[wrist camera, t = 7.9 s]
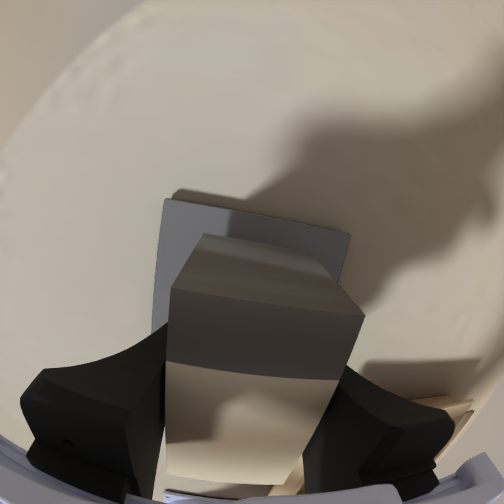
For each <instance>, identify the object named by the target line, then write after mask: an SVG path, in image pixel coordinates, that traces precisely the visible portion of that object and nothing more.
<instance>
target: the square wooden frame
mask: <svg viewBox="0 0 504 504" xmlns="http://www.w3.org/2000/svg"><path fill="white" fill-rule="evenodd" d="M410 401H413V402H416V403H419V404H422V405H426V406H430V407H434V408H439V409H443V410H446V412H447V413H448V414H449V416H450V417H451V418H452V419H453V421H454V423H455V431H454V433H453V435H452V437H451V439H450V440H449V441H448V443H447V444H446V445H445V446H444V448H443V449H442V450H441V451H440V452H439V453H438V454H437V456H436V457H435V458H434V459H433V460H434V461H435V460H436V459H437V458H438V457H439V455H440V454H441V453H442V452H443V451H444V450H445V449H446V447H447V446H448V445H449V444H450V443H451V441H452V440H453V439H454V438H455V437H456V435H457V434H458V433H459V432H460V430H461V429H462V428H463V426H464V425H465V424H466V422H467V421H468V420H469V418H470V417H471V415H472V414H473V413H474V411H473V410H470V411H468V409H469V408H470V406H471V405H472V403H473V402H474V400H473V399H470V400H466V401H461V402H457V403H455V402H454V400H453V399H452V398H451V397H450V396H449V394H448V395H443V396H436V397H430V398H423V399H415V400H410ZM303 484H304V469H303V458H302V455H301V456H300V458H299V460H298V461H297V463H296V465H295V466H294V468H293V470H292V471H291V473H290V474H289V476H288V478H287V479H286V481H285V482H284V484H283V485H273V487H272V488H271V491H270V493H269V494H268V496H278V495H303V494H305V486H303Z"/></svg>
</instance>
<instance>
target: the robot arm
mask: <svg viewBox="0 0 504 504" xmlns="http://www.w3.org/2000/svg"><path fill="white" fill-rule="evenodd" d="M167 330H168V322H166V323H165V324H164V325H163V326H161V327H160V328H159V329H158V330H156V331H155V332H154V333H152V334H151V335H149V336H148V337H147V338H145V339H143V340H142V341H140V342H139V343H137V344H136V345H134V346H132V347H130V348H128V349H126V350H124V351H122V352H120V353H117V354H115V355H112V356H109V357H106V358H104V359H101V360H98V361H94V362H90V363H86V364H81V365H76V366H70V367H61V368H49V369H43V370H42V371H41V372H40V373H39V374H38V376H37V377H36V378H35V379H34V380H33V382H32V383H31V384H30V385H29V387H28V388H27V389H26V390H25V392H24V393H23V394H22V396H21V397H20V405H21V409H22V412H23V415H24V417H25V419H26V421H27V423H28V425H29V427H30V429H31V431H32V433H33V435H34V437H35V440H34V442H33V444H32V445H31V447H30V449H29V450H28V451H26V450H24V449H23V448H21V447H19V446H18V445H16V444H14V443H13V442H11V441H10V440H8V439H6V438H5V437H3V436H2V435H0V504H490V503H492V502H493V501H494V500H495V499H497V498H498V497H499V496H500V495H501V494H502V493H503V492H504V478H503V477H502V475H501V474H500V473H499V471H498V470H497V468H496V467H495V465H494V464H493V463H492V461H491V460H490V458H489V457H488V456H487V454H486V453H485V452H483V453H481V454H479V455H477V456H475V457H472V458H470V459H469V460H467V461H466V462H465V463H464V464H463V465H462V466H461V467H460V468H459V469H458V470H457V471H456V473H454V474H452V475H449V476H447V477H444V478H442V479H439V480H438V479H437V477H436V475H435V473H434V472H433V470H432V469H434V468H435V467H436V463H435V461H434V460H433V459H434V458H435V457H436V456H437V454H438V453H439V452H440V451H441V450H442V449H443V448H444V446H445V445H446V444H447V443H448V441H449V440H450V439H451V437H452V435H453V433H454V431H455V423H454V421H453V419H452V418H451V417H450V416H449V414H448V413H447V412H446V410H443V409H439V408H434V407H430V406H426V405H422V404H419V403H416V402H413V401H410V400H407V399H404V398H402V397H399V396H397V395H395V394H393V393H390V392H388V391H386V390H384V389H382V388H380V387H378V386H377V385H375V384H373V383H372V382H370V381H368V380H367V379H365V378H364V377H362V376H361V375H359V374H358V373H357V372H355V371H354V370H352V369H351V368H350V367H348V366H347V365H346V366H345V369H344V371H343V373H342V376H341V378H340V380H339V382H338V385H337V387H336V389H335V391H334V393H333V395H332V398H331V400H330V402H329V404H328V406H327V408H326V410H325V412H324V414H323V416H322V418H321V420H320V422H319V424H318V426H317V427H316V429H315V431H314V433H313V435H312V437H311V439H310V440H309V442H308V444H307V446H306V448H305V449H304V451H303V453H302V458H303V469H304V486H305V494H303V495H278V496H264V497H249V498H245V499H241V500H226V499H215V498H206V497H199V496H192V495H186V494H180V493H174V492H169V491H164V492H163V502H164V503H163V502H158V501H154V500H152V496H153V489H154V482H155V476H156V469H157V463H158V458H159V452H160V447H161V442H162V437H163V432H164V427H165V378H166V349H167Z"/></svg>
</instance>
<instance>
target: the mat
mask: <svg viewBox="0 0 504 504" xmlns="http://www.w3.org/2000/svg"><path fill="white" fill-rule="evenodd" d="M203 233H207V234H213V235H219V236H225V237H230V238H236V239H242V240H248V241H254V242H259V243H265V244H271V245H276V246H282V247H288V248H293V249H299V250H305V251H309V252H310V253H311V254H312V255H313V256H314V257H315V258H316V259H317V261H318V262H319V263H320V264H321V265H322V266H323V267H324V268H325V270H326V271H327V272H328V273H329V274H330V275H331V276H332V277H333V279H334V280H335V281H336V282H337V283H338V280H339V277H340V274H341V270H342V267H343V263H344V259H345V256H346V252H347V248H348V245H349V241H350V237H351V235H350V234H348V233H345V232H340V231H336V230H331V229H327V228H322V227H318V226H313V225H308V224H304V223H299V222H294V221H289V220H284V219H279V218H274V217H269V216H264V215H259V214H254V213H249V212H244V211H238V210H233V209H227V208H222V207H216V206H211V205H205V204H199V203H194V202H188V201H182V200H176V199H169V198H166V199H164V205H163V212H162V219H161V226H160V234H159V243H158V251H157V261H156V271H155V282H154V295H153V310H152V330H151V334H152V333H154V332H155V331H156V330H158V329H159V328H160V327H161V326H163V325H164V324H165V323H166V322H168V315H169V302H170V290H171V286H172V284H173V283H174V281H175V279H176V278H177V276H178V274H179V273H180V271H181V269H182V268H183V266H184V264H185V263H186V261H187V259H188V258H189V256H190V254H191V253H192V251H193V250H194V248H195V246H196V245H197V243H198V241H199V240H200V238H201V237H202V235H203Z"/></svg>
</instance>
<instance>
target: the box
mask: <svg viewBox="0 0 504 504" xmlns="http://www.w3.org/2000/svg"><path fill="white" fill-rule="evenodd" d="M364 318H365V314H364V313H363V312H362V311H361V310H360V308H359V307H358V306H357V305H356V304H355V303H354V301H353V300H352V299H351V298H350V297H349V296H348V295H347V293H346V292H345V291H344V290H343V289H342V288H341V286H340V285H339V284H338V283H337V282H336V281H335V280H334V279H333V277H332V276H331V275H330V274H329V273H328V272H327V271H326V270H325V268H324V267H323V266H322V265H321V264H320V263H319V262H318V261H317V259H316V258H315V257H314V256H313V255H312V254H311V253H310V252H309V251H305V250H299V249H293V248H288V247H282V246H276V245H271V244H265V243H259V242H254V241H248V240H242V239H236V238H230V237H225V236H219V235H213V234H207V233H203V235H202V237H201V238H200V240H199V241H198V243H197V245H196V246H195V248H194V250H193V251H192V253H191V254H190V256H189V258H188V259H187V261H186V263H185V264H184V266H183V268H182V269H181V271H180V273H179V274H178V276H177V278H176V279H175V281H174V283H173V284H172V286H171V290H170V302H169V315H168V330H167V349H166V378H165V436H166V463H167V474H170V475H176V476H181V477H187V478H193V479H200V480H207V481H216V482H226V483H239V484H261V485H283V484H284V482H285V481H286V479H287V478H288V476H289V474H290V473H291V471H292V470H293V468H294V466H295V465H296V463H297V461H298V460H299V458H300V456H301V455H302V453H303V451H304V449H305V448H306V446H307V444H308V442H309V440H310V439H311V437H312V435H313V433H314V431H315V429H316V427H317V426H318V424H319V422H320V420H321V418H322V416H323V414H324V412H325V410H326V408H327V406H328V404H329V402H330V400H331V398H332V395H333V393H334V391H335V389H336V387H337V385H338V382H339V380H340V378H341V376H342V373H343V371H344V369H345V366H346V364H347V362H348V359H349V357H350V355H351V352H352V350H353V347H354V345H355V342H356V339H357V337H358V334H359V332H360V329H361V326H362V324H363V321H364Z"/></svg>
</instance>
